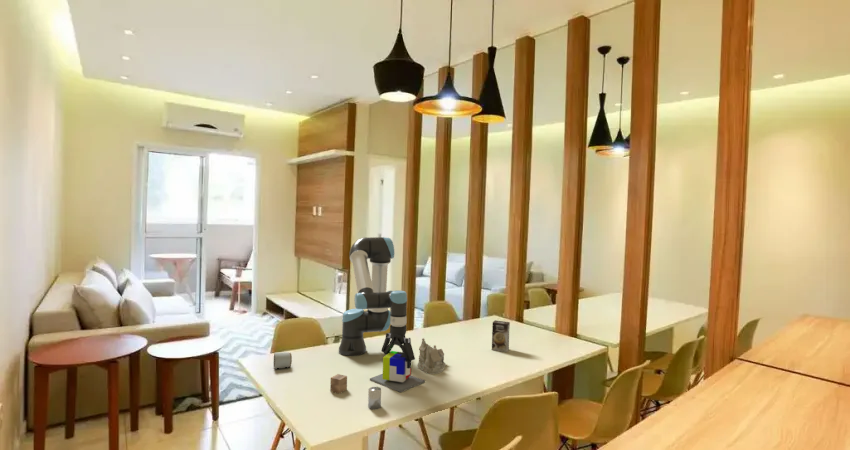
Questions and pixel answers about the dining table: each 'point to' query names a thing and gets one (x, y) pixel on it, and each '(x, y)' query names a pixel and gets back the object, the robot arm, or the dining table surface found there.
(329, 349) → the dining table surface
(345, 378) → the walnut block
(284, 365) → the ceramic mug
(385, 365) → the puzzle toy
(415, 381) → the charcoal mat
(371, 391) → the grey metal cylinder
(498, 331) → the coffee box
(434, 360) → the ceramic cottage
